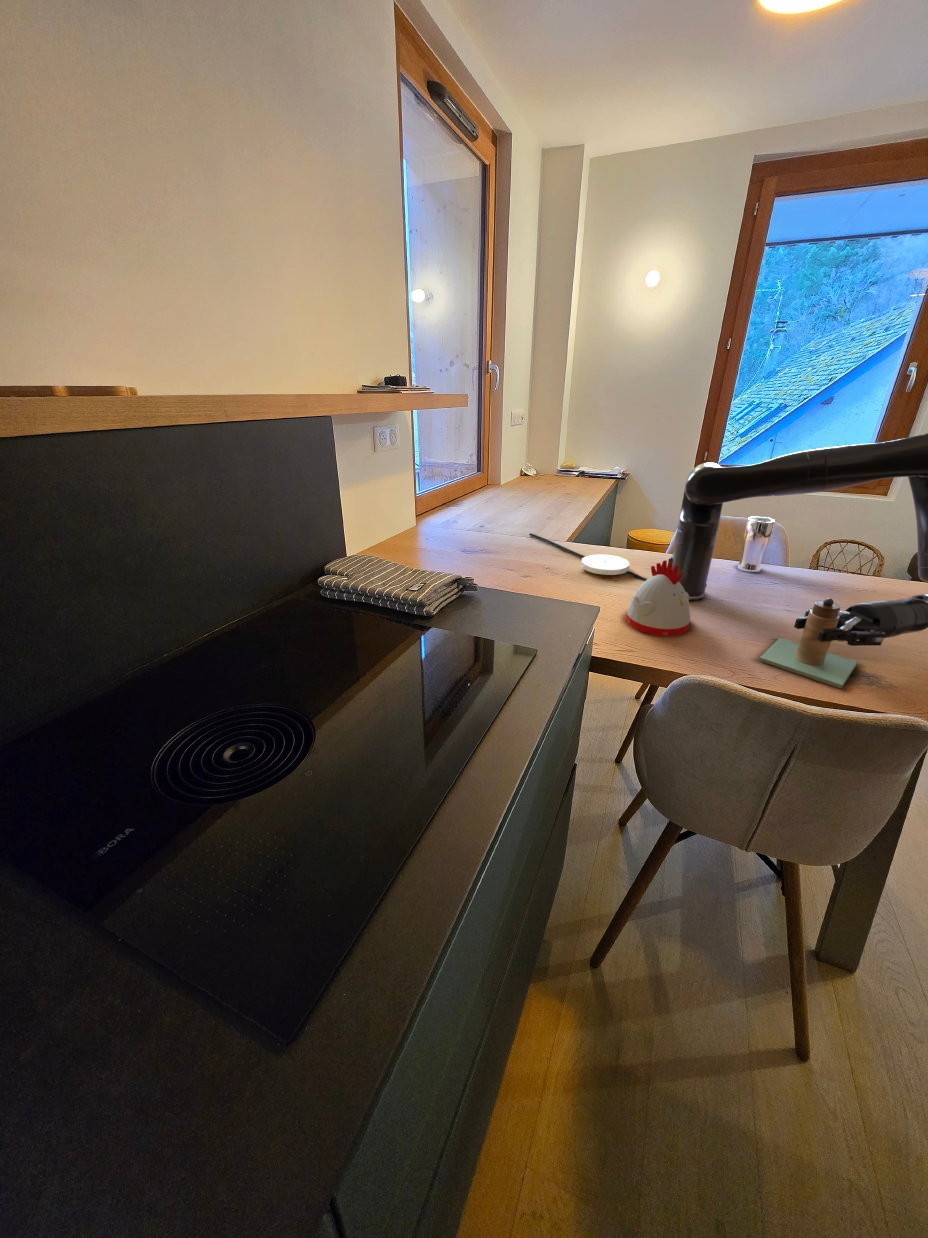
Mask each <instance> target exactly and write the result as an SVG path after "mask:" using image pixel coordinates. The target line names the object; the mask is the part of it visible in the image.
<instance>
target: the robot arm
mask: <svg viewBox="0 0 928 1238" xmlns="http://www.w3.org/2000/svg"><path fill="white" fill-rule="evenodd" d="M894 478H907V479H908V482H909V486H910V490H911V494H912V499H913V504H914V505H913V506H914V512H915V520H916V535H917V567H918V568H917V572H918V573H917V574H918V578H919V579H920V580H921V581H922V582H925V583H928V432H927V433H923V434H922V433H921V434H919V435H918V434H917V435H915V436H910V437H904V438H899V439H894V440H890V441H882V442H873V443H871V442H870V443H859V444H850V445H840V446H829V447H821V448H816V449H807V450H802V451H796V452H792V453H788V454H784V455H781V456H777V457H773V458H771V459H768V460H765V461H762V462H758V463H754V464H748V465H738V466H737V465H736V466H721V465H720V464H718V463H715V462H703V463H700V464H698V465H697V466H695V467H694V468H692V469H691V471H689V473H688V475H687V477H686V480H685V483H684V484H685V485H684V490H683V495H682V501H681V507H680V511H679V517H678V522H677V529H676V535H675V540H674V545H673V550H672V556H670V557H669V558H668V561H667V564H668V563H670V562H672V571H673V569H674V567H675V566H679V568H678V575H679V574H681V573H683V575H682V577H681V578H680V579H679V582H680V584H681V585H682V586H683V588H684V590H685V592H687V593H688V595H689V601H696V600H697V601H698V600H701V599H703V598H704V596H705V591H706V588H707V585H708V584H707V582H708V577H709V572H710V568H711V565H712V559H713V554H714V550H715V545H716V541H717V537H718V536H717V535H718V532H719V526H720V522H721V516H722V515H721V514H722V510H723V505H724V503H725V504H726V503H731V502H734V501H739V500H745V499H751V498H761V497H762V498H763V497H764V498H765V497H781V496H795V495H804V494H805V495H806V494H807V495H808V494H815V493H823V492H829V491H836V490H840V489H845V488H850V487H854V486H858V485H863V484H866V483H870V482H874V481H879V480H885V479H894ZM528 535H529V536H530V537H533V538H536V539H538V540H541V541H543V542H546V543H547V544H551V545H552V546H554V547H557V548H559V549H561V550H563V551H565V552H568V553H570V554H572V555H574V556H577V557H578V558H581V559H582V558H583V557H585V556H586V555H583V554H581V553H579V552H576V551H574V550H572V549H569V548H568V547H565V546H563V545H561V544H558V543H556V542H554V541H552V540H550V539H547V538H545V537H543V536H540V535H537V534H533V533H531V532H530V533H529V534H528ZM624 574H627V575H630V576H632V577H635V578H637V579H639V580H643V581H644V582H645V581H646V580H648V579H649V578H645V577H643V576H641V575H639V574H637V573H635V572H633V571H630V570H628V571H627V572H625V573H624ZM810 610H813V607H810V608H808V609H806V611H805V614H804V616H802V617H801V616H800V617H796V619H795V622H794V625H793V627H794V628H795V629H797V630H802V629H803V630H804V627H805V624H806V621H807V618H808V615H809V612H810ZM838 615H839V617H840V618H839V621H838V624H837V626H836V628H833V629H826V630H821V631H820V633H819V636H818V640H819V641H821V642H825V641H831V642H833V641H837V642H841V643H842V642H846V645H848V646H852V647H853V646H855V647H859V646H860V647H862V646H863V647H864V646H867V647H869V646H871V647H872V646H879V647H880V646H881V645H882V643H883V641H884V639H887V638H894V637H898V636H902V635H906V634H907V635H908V634H913V633H917V632H921V631H924V630H926V629H928V593H921V594H916V595H911V596H910V597H905V598H898V599H882V600H874V601H866V602H860V603H855V604H853V605H851V606H850V607H847V608H846V609H845V610H839V613H838Z"/></svg>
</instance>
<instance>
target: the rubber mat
mask: <svg viewBox="0 0 928 1238" xmlns="http://www.w3.org/2000/svg"><path fill="white" fill-rule="evenodd" d="M798 646H799V642H795V641H792V640H788V639H785V638H781V637H779V638H778V639H777V640H776V641H775V642H774V643H773V644H772V645H771V646H769V648H767V650H766V651H765V652H764V653H763V654H762V655H761V656H760V657H759V662H762V663H764V664H767V665H769V666H770V665H771V666H773V667H777V668H780V669H782V670H785V671H788V672H791V673H793V674H797V675H800V676H803V677H805V678H809V679H811V680H815V681H817V682H820V683H824V684H827V685H830V686H832V687H835V688H838V689H842V688H843V686H844V685H845V684H846V682H847V681H848V679H849V678H850V676H851V674H852V673H853V671H854V670H855V668H856V666H857V665H858V661H857V660H854V659H850V658H847V657H844V656H841V655H839V654H834V653H831V652H829V651H828V652H827V655H826V657H825V660H824V663H823V664H822V665H809V664H805V663H803V662H800V661H799V660H797V659H796V657H795V655H796V652H797V649H798Z"/></svg>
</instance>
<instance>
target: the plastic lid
mask: <svg viewBox="0 0 928 1238" xmlns="http://www.w3.org/2000/svg"><path fill="white" fill-rule="evenodd" d="M584 556H585V557H583V558H581V560H580V567H581V568H582V569H583V570H584V571H586V572H589V573H592V574H596V575H597V574H598V575H604V576H606V575H607V576H615V575H616V576H617V575H623V574H626V573H625V572H627V571H630V566H631V563H630V561H629V560H628V559H626V558H623V557H621V556H618V555H612V554H603V553H602V554H601V553H600V554H599V553H598V554H589V555H584Z"/></svg>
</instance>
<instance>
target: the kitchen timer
mask: <svg viewBox="0 0 928 1238" xmlns="http://www.w3.org/2000/svg"><path fill="white" fill-rule="evenodd" d="M678 568H679V566H675V567H674V569H673V571H672V562H670V563H668V561H667V560H665V559H664V560H662V563H661V562H657V563H656V567H655V565H651V566H650V571H651V577H649V578H647V579H648V580H646V581H645V580H644V581H643V582H642V584H640V585H639V586H638V588H637V590H636V591H635V593H634V594H633V596H632V598H631V600H630V602H629V604H628V606H627V610H626V616H625V620H626V622H627V624H628V625H629V626H631V627H632V628H633V629H635V630H637V631H639V632H642V633H645V634H650V635H655V636H666V637H667V636H668V637H669V636H670V637H671V636H679V635H681V634H684V633H685V632H687V631H688V630H689V627H690V622H691V610H690V609H691V608H690V602H689V601H690V600H689V595H688V593H687V592H685V590H684V588H683V586H682V585H681V584H680V582H679V579H680V578H681V577H682V575H683V573H681V574H679V575H678Z"/></svg>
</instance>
